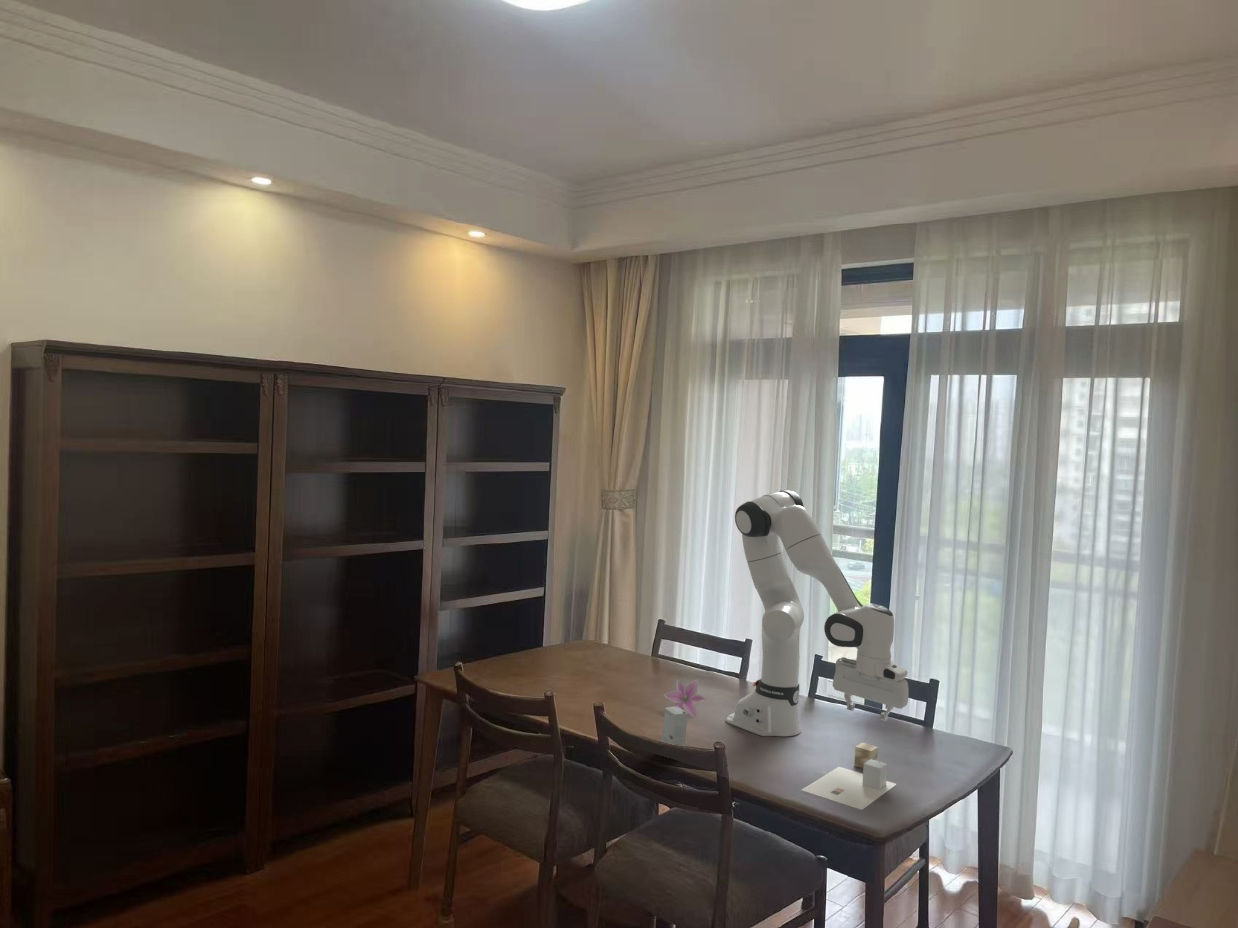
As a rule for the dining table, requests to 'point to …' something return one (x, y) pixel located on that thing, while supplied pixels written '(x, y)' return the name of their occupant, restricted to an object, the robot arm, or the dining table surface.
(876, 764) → the grey block
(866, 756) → the birch block
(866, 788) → the cream flat sheet
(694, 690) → the lily
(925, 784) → the dining table surface
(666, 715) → the skincare box
